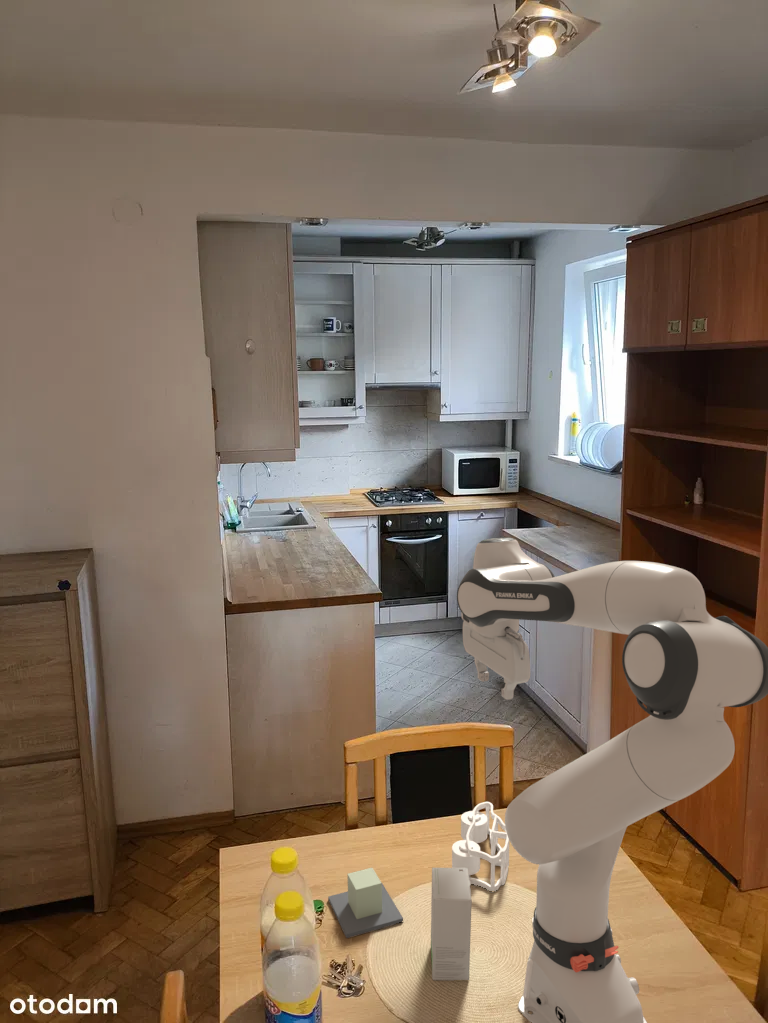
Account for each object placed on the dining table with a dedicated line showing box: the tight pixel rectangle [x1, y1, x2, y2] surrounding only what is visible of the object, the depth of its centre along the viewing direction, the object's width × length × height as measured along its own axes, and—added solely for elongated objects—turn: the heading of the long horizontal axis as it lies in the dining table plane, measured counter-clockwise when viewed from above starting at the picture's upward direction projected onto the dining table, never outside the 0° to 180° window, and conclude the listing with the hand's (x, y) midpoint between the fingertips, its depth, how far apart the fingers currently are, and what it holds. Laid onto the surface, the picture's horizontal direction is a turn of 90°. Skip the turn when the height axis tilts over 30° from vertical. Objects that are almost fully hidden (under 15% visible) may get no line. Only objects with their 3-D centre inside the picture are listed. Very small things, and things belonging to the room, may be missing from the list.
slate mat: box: [327, 881, 404, 939], centre depth 143 cm, size 11×11×1 cm
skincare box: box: [430, 867, 473, 981], centre depth 129 cm, size 8×7×16 cm
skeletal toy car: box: [451, 801, 510, 892], centre depth 158 cm, size 20×11×7 cm, turn 165°
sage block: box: [347, 867, 383, 919], centre depth 143 cm, size 5×5×6 cm
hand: (494, 688), depth 148 cm, fingers open, 8 cm apart
